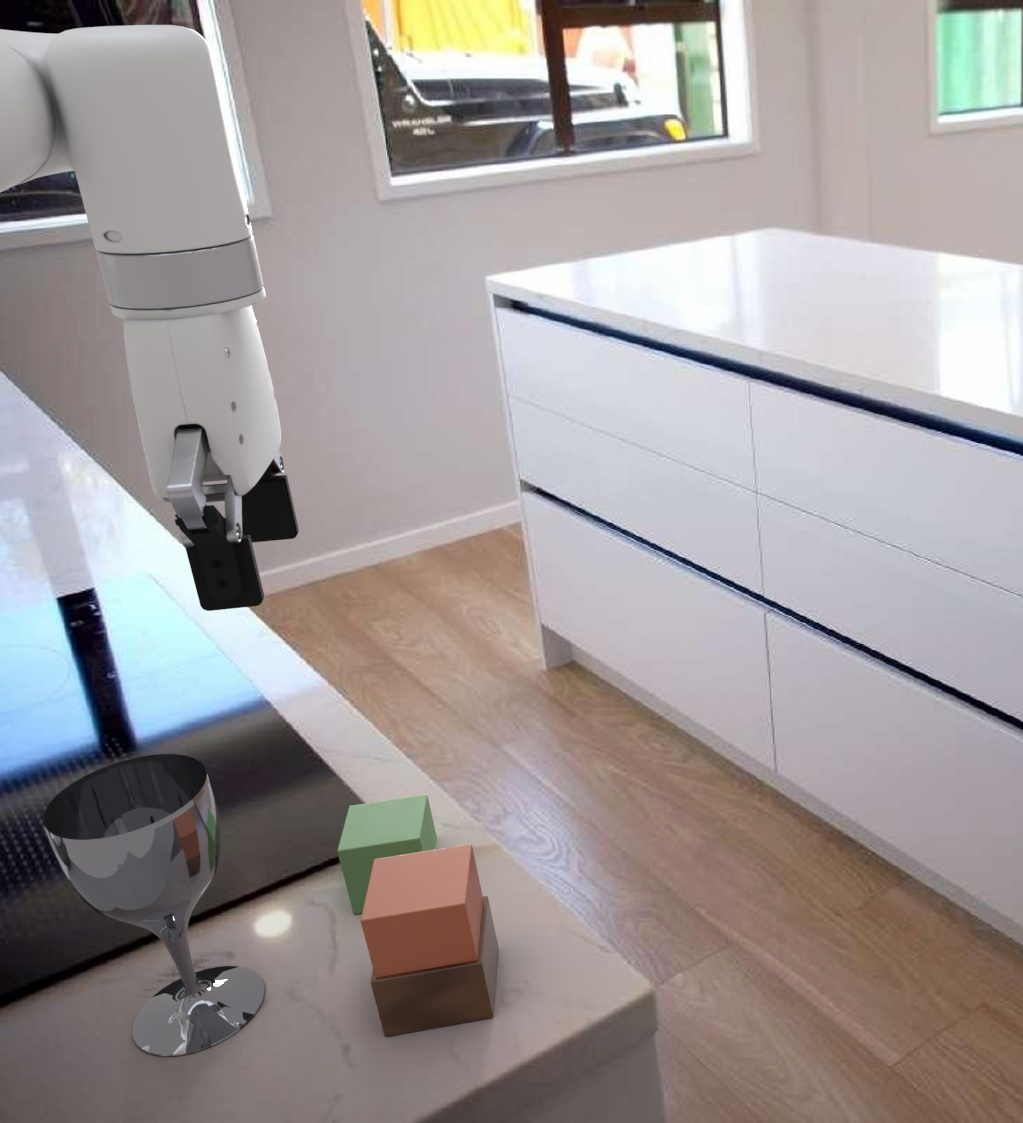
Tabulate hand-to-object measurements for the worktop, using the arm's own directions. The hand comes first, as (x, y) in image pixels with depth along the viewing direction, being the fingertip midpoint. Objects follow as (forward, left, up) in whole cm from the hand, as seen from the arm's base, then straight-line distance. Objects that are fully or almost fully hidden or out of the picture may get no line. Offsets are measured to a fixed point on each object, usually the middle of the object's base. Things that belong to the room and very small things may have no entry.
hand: (254, 570), depth 75 cm
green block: (+4, -1, -23) cm, 23 cm away
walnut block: (+8, -12, -23) cm, 27 cm away
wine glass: (-6, -10, -23) cm, 26 cm away
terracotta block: (+8, -12, -19) cm, 24 cm away
